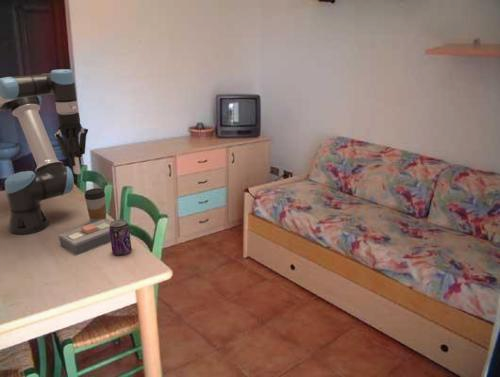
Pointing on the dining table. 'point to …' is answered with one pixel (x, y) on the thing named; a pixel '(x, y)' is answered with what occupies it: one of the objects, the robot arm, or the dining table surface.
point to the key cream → (75, 236)
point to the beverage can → (120, 237)
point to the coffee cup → (96, 204)
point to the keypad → (85, 239)
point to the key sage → (103, 226)
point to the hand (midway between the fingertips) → (77, 173)
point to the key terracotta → (89, 229)
